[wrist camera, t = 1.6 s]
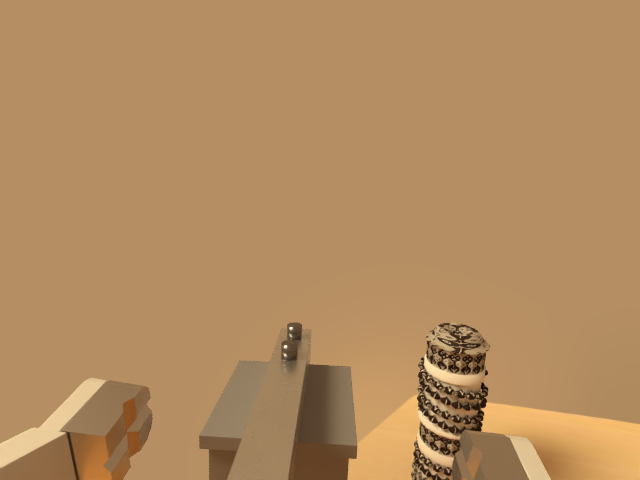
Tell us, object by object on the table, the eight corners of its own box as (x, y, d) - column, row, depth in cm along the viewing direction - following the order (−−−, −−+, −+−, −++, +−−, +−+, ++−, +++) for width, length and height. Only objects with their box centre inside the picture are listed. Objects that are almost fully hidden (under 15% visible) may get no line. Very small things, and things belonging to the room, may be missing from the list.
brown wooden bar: (281, 355, 38) (282, 317, 37) (310, 357, 38) (311, 318, 37) (222, 546, 18) (222, 469, 17) (283, 550, 18) (285, 474, 17)
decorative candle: (410, 461, 59) (423, 313, 55) (471, 477, 56) (490, 322, 52) (405, 509, 50) (420, 337, 46) (478, 530, 48) (500, 349, 44)
